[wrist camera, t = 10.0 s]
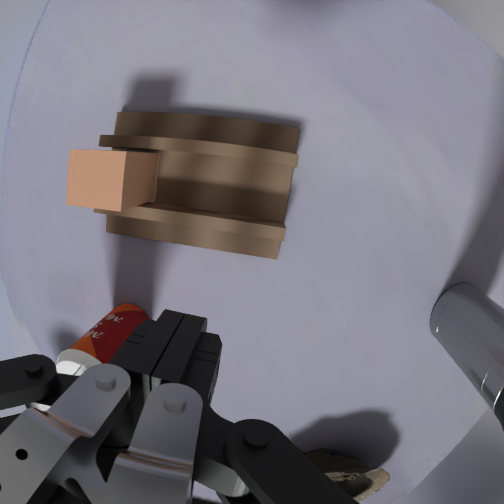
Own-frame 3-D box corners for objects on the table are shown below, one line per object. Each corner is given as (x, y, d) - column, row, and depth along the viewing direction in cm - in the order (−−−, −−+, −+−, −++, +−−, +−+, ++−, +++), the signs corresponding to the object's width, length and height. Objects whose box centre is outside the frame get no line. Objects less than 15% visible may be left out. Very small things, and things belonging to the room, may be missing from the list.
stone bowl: (273, 433, 41) (279, 479, 32) (400, 428, 43) (418, 462, 35) (247, 494, 48) (248, 528, 39) (351, 489, 50) (359, 518, 41)
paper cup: (120, 283, 35) (59, 341, 21) (168, 320, 36) (127, 393, 22) (99, 323, 37) (45, 383, 23) (142, 355, 38) (103, 425, 24)
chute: (298, 129, 29) (303, 124, 25) (276, 256, 33) (278, 269, 29) (121, 113, 29) (104, 108, 25) (109, 230, 33) (93, 238, 29)
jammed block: (159, 153, 29) (126, 151, 21) (153, 199, 30) (120, 211, 23) (110, 150, 29) (70, 149, 21) (106, 194, 30) (66, 204, 23)
